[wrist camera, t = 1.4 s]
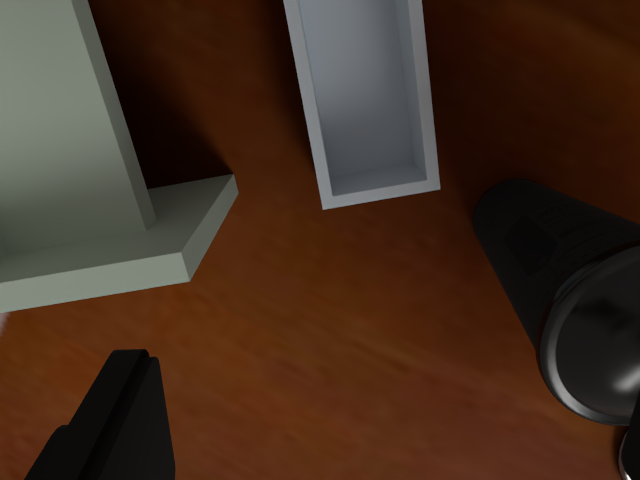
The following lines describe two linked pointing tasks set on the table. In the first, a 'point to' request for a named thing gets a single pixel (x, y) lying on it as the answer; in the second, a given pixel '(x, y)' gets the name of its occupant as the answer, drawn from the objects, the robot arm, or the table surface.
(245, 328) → the table surface
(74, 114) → the shelf slot
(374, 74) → the tray
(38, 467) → the robot arm
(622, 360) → the drinking cup
